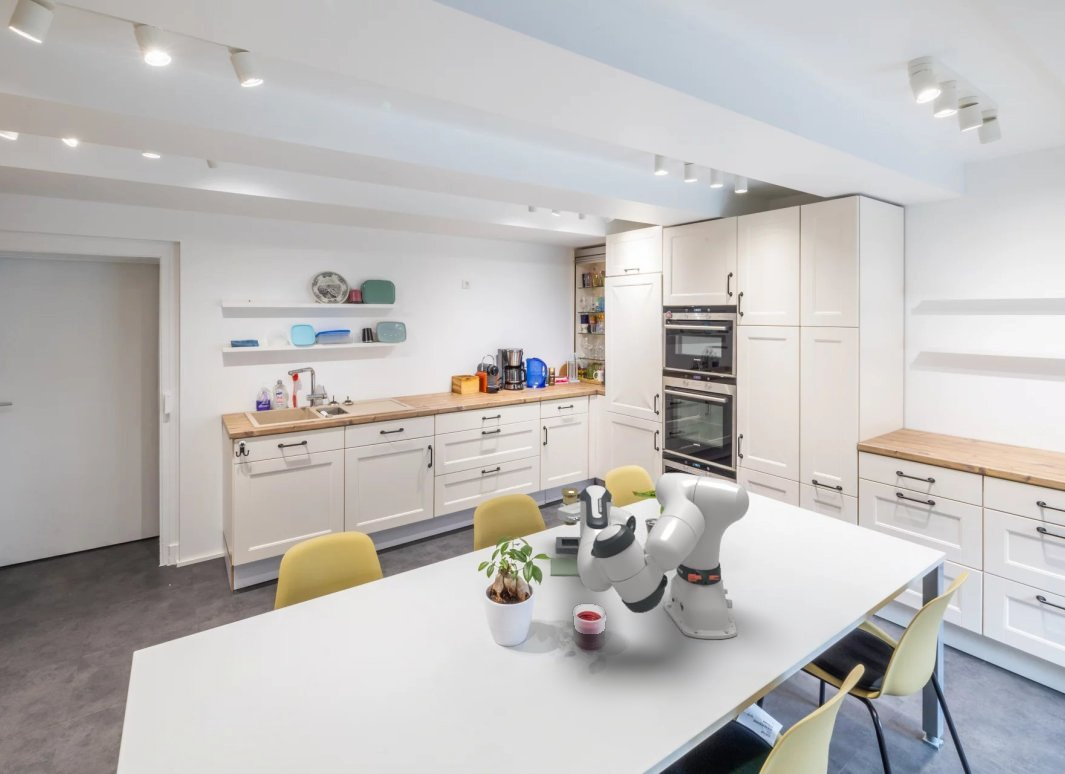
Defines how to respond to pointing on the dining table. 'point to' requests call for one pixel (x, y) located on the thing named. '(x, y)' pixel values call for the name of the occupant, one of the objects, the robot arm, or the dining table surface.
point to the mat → (564, 567)
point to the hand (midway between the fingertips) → (568, 503)
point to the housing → (567, 545)
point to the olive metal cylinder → (569, 499)
